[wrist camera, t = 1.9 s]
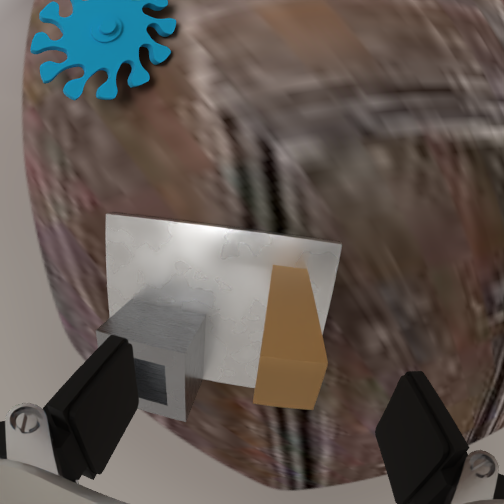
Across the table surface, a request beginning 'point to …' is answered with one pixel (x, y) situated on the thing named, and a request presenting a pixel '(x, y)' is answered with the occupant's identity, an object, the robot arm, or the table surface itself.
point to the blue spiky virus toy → (103, 41)
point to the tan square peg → (290, 343)
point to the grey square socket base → (199, 300)
